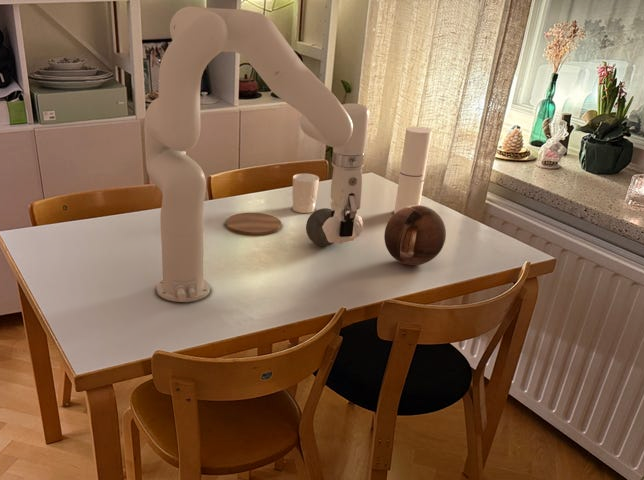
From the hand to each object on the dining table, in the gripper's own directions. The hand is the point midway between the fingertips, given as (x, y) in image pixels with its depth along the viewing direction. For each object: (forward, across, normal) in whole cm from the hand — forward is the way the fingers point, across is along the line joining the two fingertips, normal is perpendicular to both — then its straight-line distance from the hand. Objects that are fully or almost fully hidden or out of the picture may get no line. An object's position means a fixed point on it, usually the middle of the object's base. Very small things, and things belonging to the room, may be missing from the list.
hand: (340, 229), depth 174 cm
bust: (+3, 0, 0) cm, 3 cm away
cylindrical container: (+10, +33, -32) cm, 47 cm away
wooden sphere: (+9, -2, -19) cm, 21 cm away
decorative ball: (+9, +13, 0) cm, 16 cm away
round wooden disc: (+9, +30, +16) cm, 35 cm away
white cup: (+9, +41, -2) cm, 42 cm away
